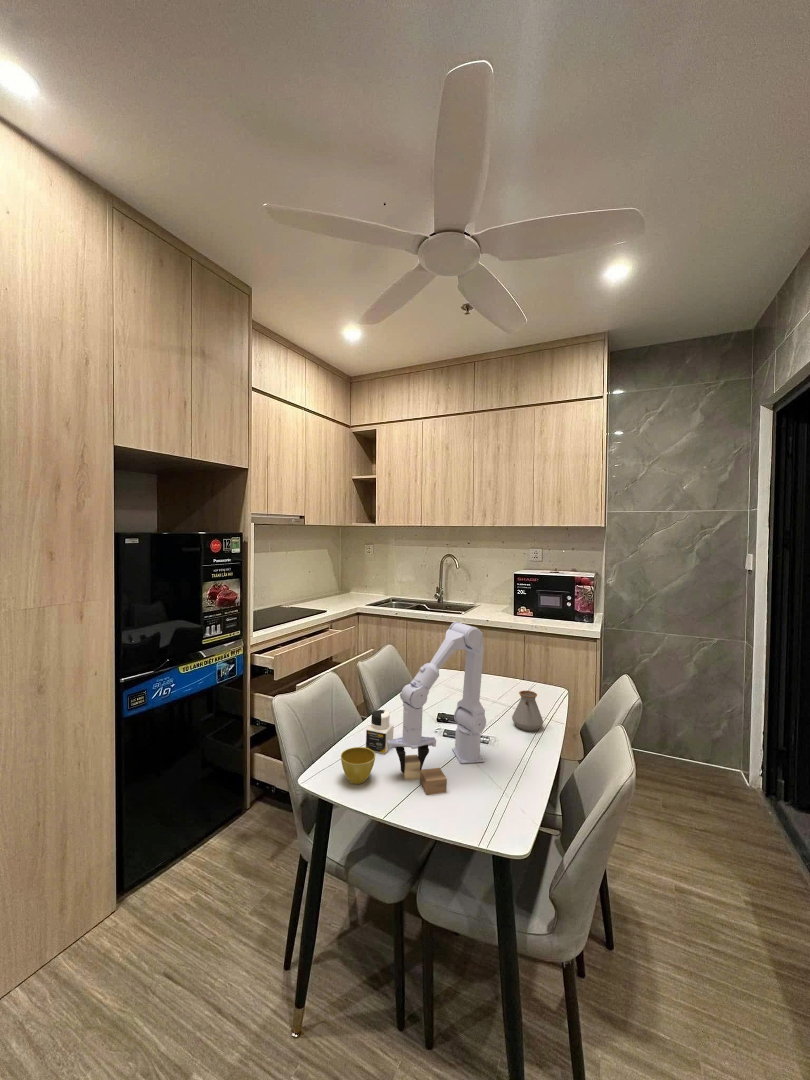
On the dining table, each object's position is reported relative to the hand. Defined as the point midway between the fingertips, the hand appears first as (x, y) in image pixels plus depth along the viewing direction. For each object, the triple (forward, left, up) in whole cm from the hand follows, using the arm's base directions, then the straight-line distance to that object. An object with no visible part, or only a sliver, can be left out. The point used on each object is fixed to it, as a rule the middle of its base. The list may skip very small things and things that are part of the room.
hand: (410, 770), depth 132 cm
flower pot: (0, -16, -2) cm, 16 cm away
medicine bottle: (-18, -7, -2) cm, 19 cm away
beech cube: (0, 0, -1) cm, 1 cm away
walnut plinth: (+7, +5, -2) cm, 9 cm away
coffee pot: (-23, +49, -2) cm, 54 cm away
